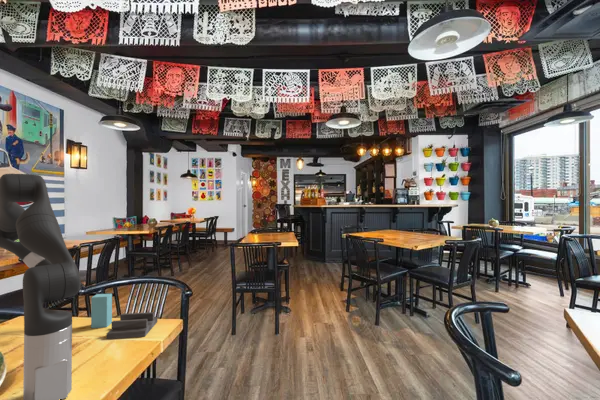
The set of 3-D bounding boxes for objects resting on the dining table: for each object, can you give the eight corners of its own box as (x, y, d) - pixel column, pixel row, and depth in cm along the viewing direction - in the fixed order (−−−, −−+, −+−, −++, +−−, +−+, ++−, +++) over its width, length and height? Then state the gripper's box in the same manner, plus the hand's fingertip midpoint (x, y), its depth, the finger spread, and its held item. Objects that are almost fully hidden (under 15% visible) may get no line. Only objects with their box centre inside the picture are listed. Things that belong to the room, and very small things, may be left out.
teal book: (106, 327, 113) (106, 296, 113) (90, 328, 112) (91, 297, 112) (111, 323, 117) (112, 293, 117) (96, 323, 116) (96, 294, 116)
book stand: (145, 336, 105) (145, 322, 105) (106, 338, 103) (106, 325, 103) (157, 321, 118) (157, 309, 118) (123, 323, 116) (123, 311, 116)
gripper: (36, 259, 105) (70, 288, 106) (62, 252, 119) (92, 278, 120) (19, 274, 104) (54, 304, 105) (47, 265, 118) (78, 292, 120)
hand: (74, 290), depth 113 cm, fingers open, 8 cm apart
